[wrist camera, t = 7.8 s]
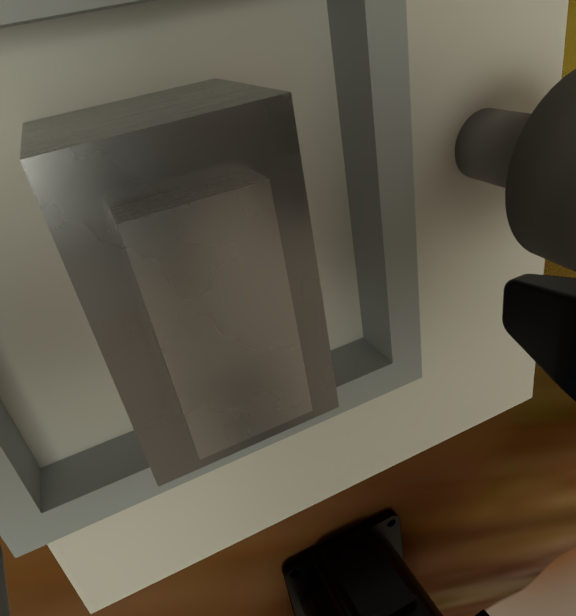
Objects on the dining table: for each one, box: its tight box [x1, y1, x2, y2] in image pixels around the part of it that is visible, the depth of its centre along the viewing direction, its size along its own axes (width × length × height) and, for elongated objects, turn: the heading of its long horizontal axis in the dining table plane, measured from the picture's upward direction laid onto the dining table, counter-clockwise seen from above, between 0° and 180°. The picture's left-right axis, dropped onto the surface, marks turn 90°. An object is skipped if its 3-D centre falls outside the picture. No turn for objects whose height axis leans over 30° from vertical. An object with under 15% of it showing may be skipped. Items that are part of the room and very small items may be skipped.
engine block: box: [20, 78, 339, 487], centre depth 13 cm, size 8×5×6 cm, turn 10°
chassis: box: [0, 0, 569, 614], centre depth 16 cm, size 27×22×3 cm
